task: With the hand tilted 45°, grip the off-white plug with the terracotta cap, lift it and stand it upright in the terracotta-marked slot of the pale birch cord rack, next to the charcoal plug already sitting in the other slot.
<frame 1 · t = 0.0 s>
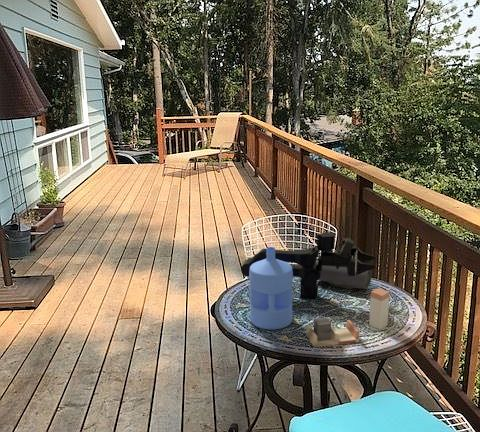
hand: (375, 262, 189), 17 cm above the table, tool horizontal, fingers open, 9 cm apart
plug: (378, 325, 175), on the table
comb rack: (342, 337, 168), on the table
bluetooth speaker: (341, 286, 208), on the table
water jug: (271, 320, 181), on the table
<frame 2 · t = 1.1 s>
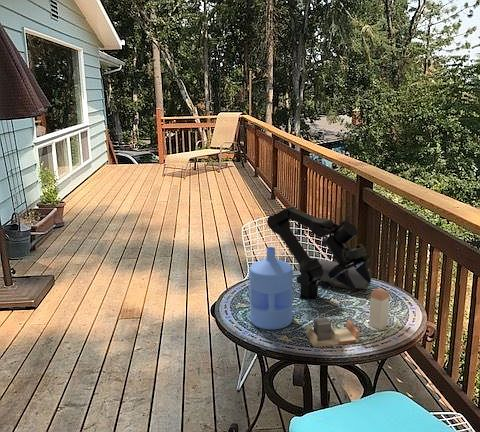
hand: (362, 285, 177), 13 cm above the table, tool tilted 45°, fingers open, 9 cm apart
nothing on the table moved.
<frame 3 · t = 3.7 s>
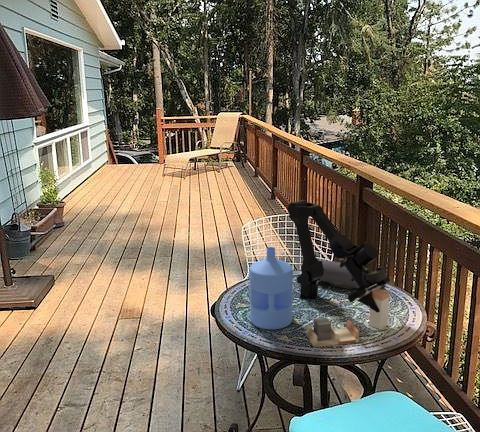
hand: (382, 309, 172), 7 cm above the table, tool tilted 45°, fingers closed on plug, 4 cm apart
plug: (378, 325, 175), on the table, touching gripper
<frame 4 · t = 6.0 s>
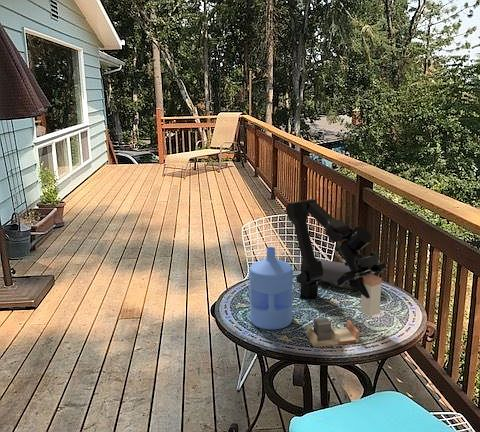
hand: (373, 296, 167), 13 cm above the table, tool tilted 45°, fingers closed on plug, 4 cm apart
plug: (369, 312, 170), point 7 cm above the table, touching gripper
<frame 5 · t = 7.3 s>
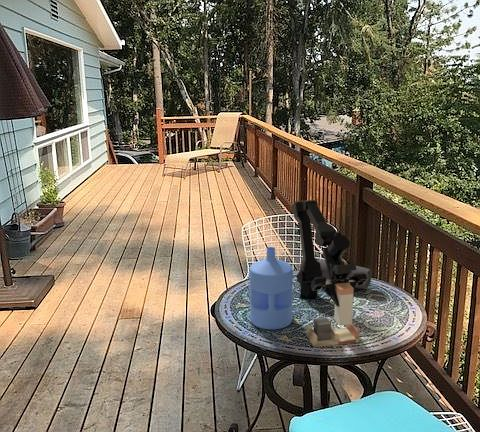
hand: (345, 305, 163), 13 cm above the table, tool tilted 45°, fingers closed on plug, 4 cm apart
plug: (342, 321, 166), point 6 cm above the table, touching gripper
when the fingers open (9 cm above the table, at t = 8.3 s): plug drops 1 cm, resting on comb rack.
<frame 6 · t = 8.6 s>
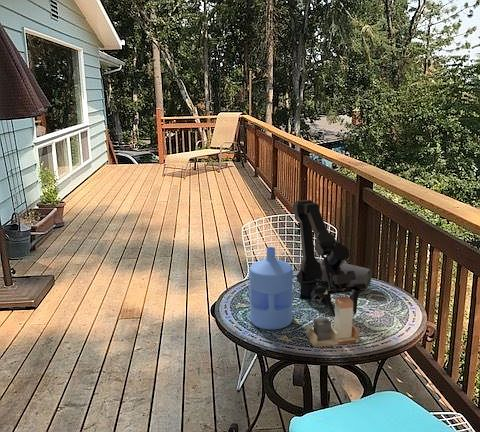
hand: (344, 315, 164), 9 cm above the table, tool tilted 45°, fingers open, 7 cm apart
plug: (342, 334, 168), point 1 cm above the table, touching comb rack
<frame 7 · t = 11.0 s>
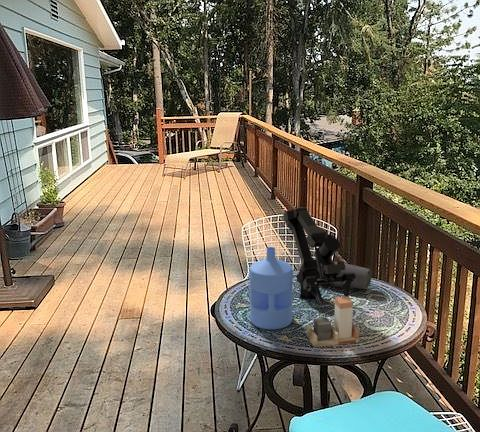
hand: (335, 303, 173), 9 cm above the table, tool tilted 45°, fingers open, 9 cm apart
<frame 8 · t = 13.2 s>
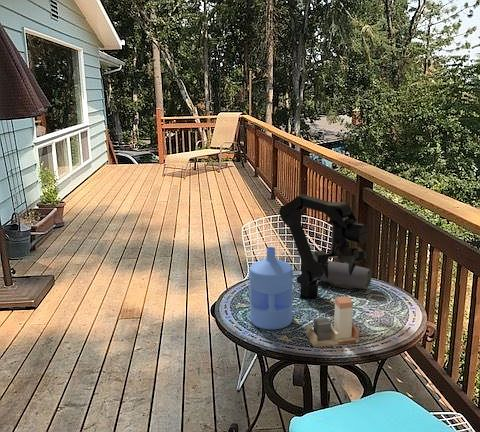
hand: (338, 276, 185), 13 cm above the table, tool pointing down, fingers open, 9 cm apart
at the end: plug 0.0 cm off-centre on the comb rack, point 1.0 cm above the comb rack's base; plug tilted 0°; the gripper is holding nothing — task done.
